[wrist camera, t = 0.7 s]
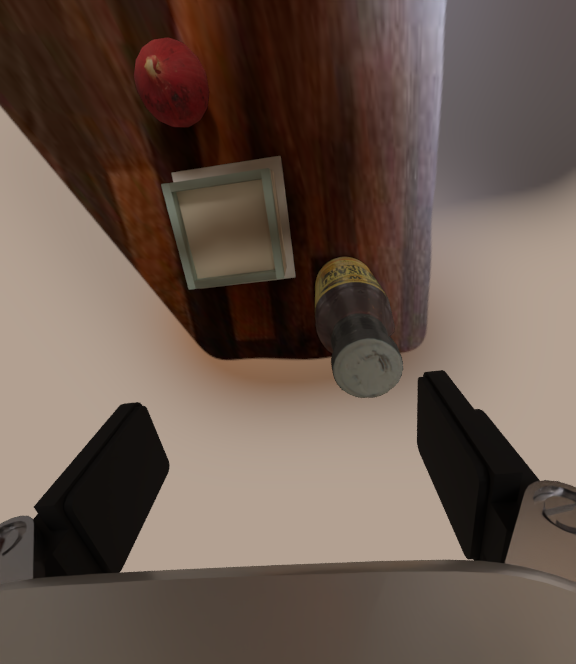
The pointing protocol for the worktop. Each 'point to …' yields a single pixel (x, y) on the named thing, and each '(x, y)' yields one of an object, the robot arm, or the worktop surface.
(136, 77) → the onion
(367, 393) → the sauce bottle
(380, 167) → the worktop surface
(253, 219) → the open box
